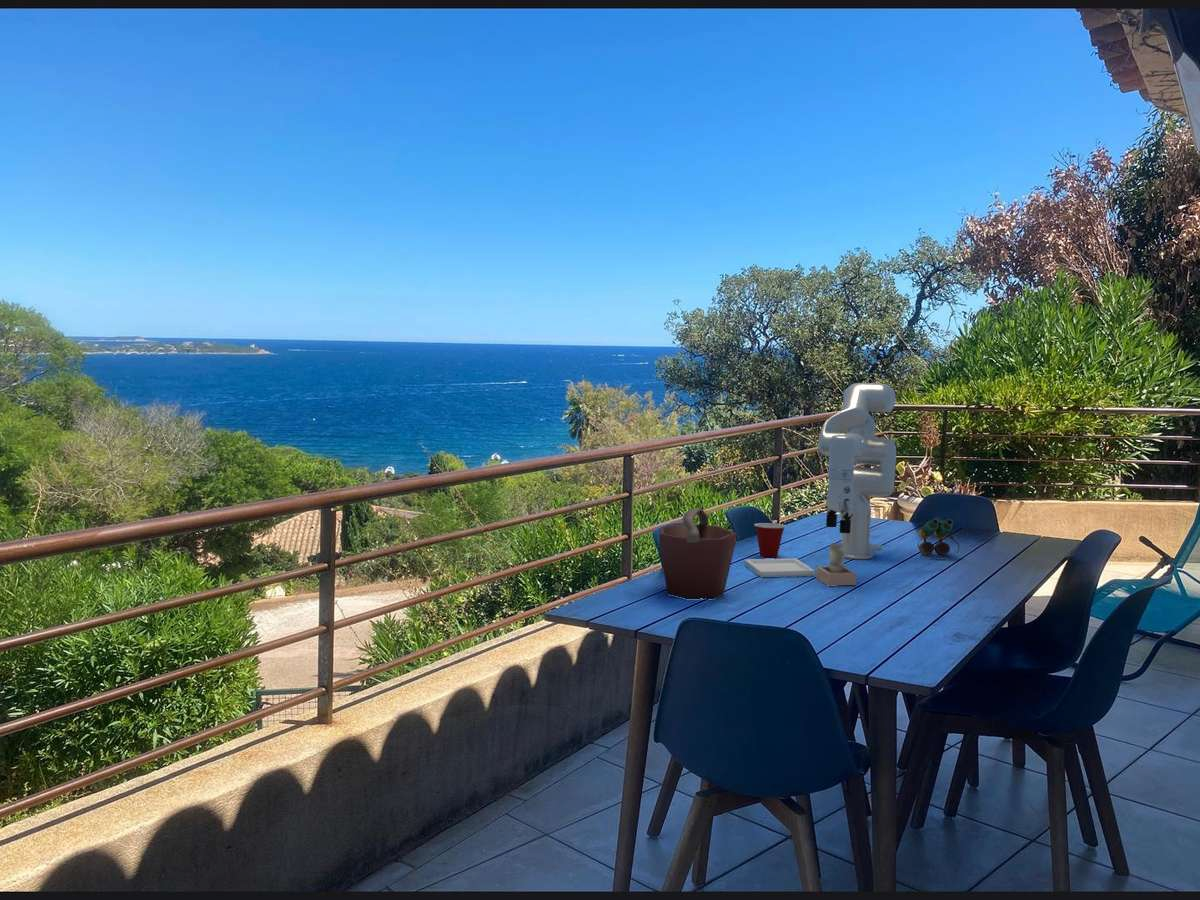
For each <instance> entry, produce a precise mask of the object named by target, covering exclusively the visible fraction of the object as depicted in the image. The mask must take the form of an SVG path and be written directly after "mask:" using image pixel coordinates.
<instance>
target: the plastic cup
mask: <svg viewBox="0 0 1200 900" xmlns="http://www.w3.org/2000/svg"><path fill="white" fill-rule="evenodd" d="M754 528H755V531H756V536H757V537H756V538H757V545H758V550H759V557H760V556H761V557H764V558H776V557H777V558H778V556H779V551H780V547H781V541H782V536H783V534H784V533H783V532H784V529H785V528H786V525H785V524H781V523H772V522H771V523H770V522H767V523H766V522H759V523H754ZM761 557H760V558H761ZM777 558H776V559H777Z"/></svg>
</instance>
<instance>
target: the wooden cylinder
mask: <svg viewBox="0 0 1200 900" xmlns="http://www.w3.org/2000/svg"><path fill="white" fill-rule="evenodd" d="M844 550H845V545H844V544H841V543H839V542H832V543H830V544H829V558H828V559H829V560H828V566H829V572H830V573H843V571H844V566H845V557H844Z"/></svg>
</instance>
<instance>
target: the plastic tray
mask: <svg viewBox="0 0 1200 900" xmlns="http://www.w3.org/2000/svg"><path fill="white" fill-rule="evenodd" d="M745 565H746V566H748V567H749V568H751V569H752V570H753V571H754V572H755V573H757V574H758V575H759V576H760V577H777V576H779V577H780V576H791V577H790V578H802V577H801V576H815V575H816V574H815V573H816V570H814V569H813V567H812V568H811V567H810V566H809V565H807V564H805V563H804V562H802V561H801V560H799V559H798V558H795V557H794V558H776V559H763V558H749V559H744V566H745ZM746 566H745V567H746ZM749 568H748V569H749ZM754 572H753V573H754ZM755 573H754V574H755ZM759 576H758V577H759ZM793 576H794V577H793ZM797 576H799V577H797ZM760 577H759V578H760ZM780 578H781V577H780Z"/></svg>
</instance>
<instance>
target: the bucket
mask: <svg viewBox="0 0 1200 900" xmlns="http://www.w3.org/2000/svg"><path fill="white" fill-rule="evenodd" d="M696 516H697V517H698V521H699V522H698V523H699V524H697V523H695V517H696ZM682 521H683V523H680V524H673V525H672V524H671V525H663V526H660V530H659V550H660V556H661V557H660V558H661V562H662V568H663V574H664V580H665V587H666V594H667V595H668V594H670V595H674V596H678V597H682V598H685V599H700V598H703V599H705V598H706V599H714V598H716V597H718V596H720V595H722V594H723V593H724V594H725V590H726V586H727V581H728V577H729V574H730V573H729V572H730V568H731V565H732V561H733V557H734V556H733V555H734V551H735V548H736V544H737V543H736V542H737V541H736V540H737V532H735V531H732V530H730V529H727V528H725V527H723V526H721V525H713V524H712V525H710V524H709V517H708V514H707V513H706V512H705V511H704V509H702V508H689V509H688V510H686V512H685V513H684V514H683V517H682ZM724 594H723V595H724ZM723 595H722V596H723ZM720 597H721V596H720ZM718 598H719V597H718ZM716 599H717V598H716Z"/></svg>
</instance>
